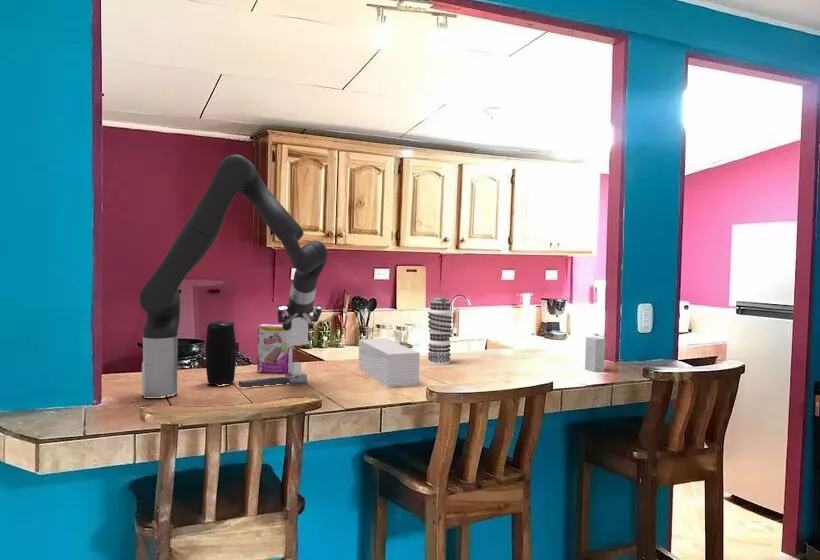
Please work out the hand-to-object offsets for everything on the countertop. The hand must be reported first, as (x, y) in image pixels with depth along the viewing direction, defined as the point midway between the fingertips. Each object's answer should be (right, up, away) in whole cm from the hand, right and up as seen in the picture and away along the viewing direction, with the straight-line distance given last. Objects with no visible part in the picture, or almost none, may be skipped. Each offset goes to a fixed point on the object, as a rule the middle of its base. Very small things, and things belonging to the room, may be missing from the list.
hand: (295, 328), depth 204 cm
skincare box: (+105, -18, +30) cm, 110 cm away
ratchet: (-6, -18, -4) cm, 19 cm away
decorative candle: (+48, -16, +39) cm, 64 cm away
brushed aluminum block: (+1, -5, -1) cm, 5 cm away
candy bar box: (-10, -17, +15) cm, 25 cm away
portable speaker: (-23, -17, -4) cm, 29 cm away
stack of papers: (+29, -18, +12) cm, 36 cm away
